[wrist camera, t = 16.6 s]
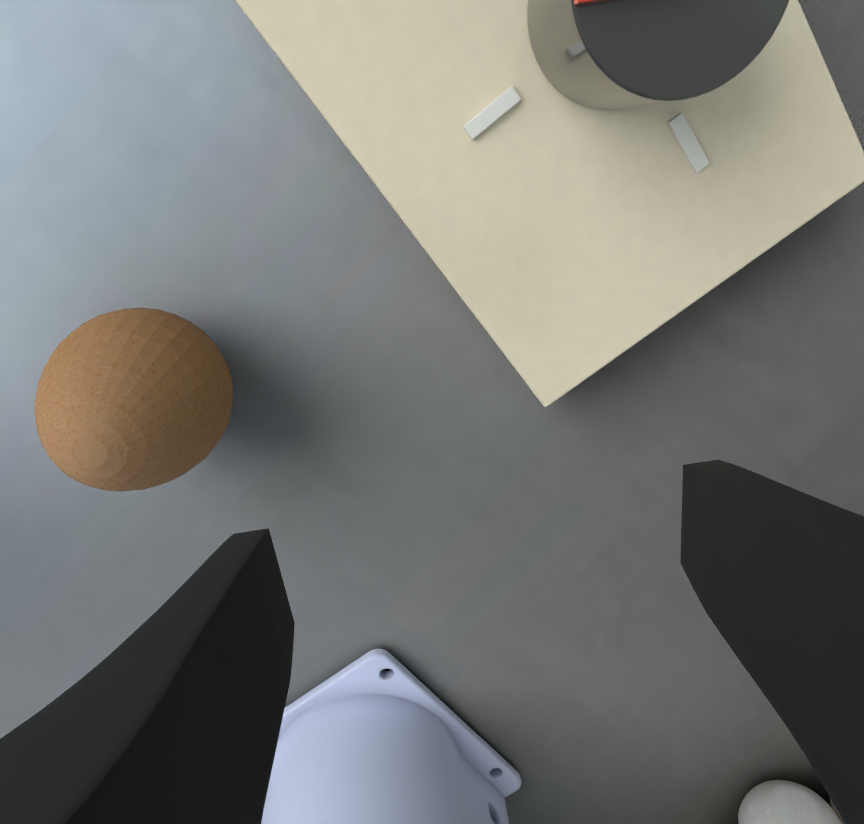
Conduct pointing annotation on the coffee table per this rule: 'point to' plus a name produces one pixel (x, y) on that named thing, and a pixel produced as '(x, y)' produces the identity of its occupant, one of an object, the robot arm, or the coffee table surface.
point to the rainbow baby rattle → (786, 805)
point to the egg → (133, 400)
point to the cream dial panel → (566, 168)
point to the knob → (647, 46)
